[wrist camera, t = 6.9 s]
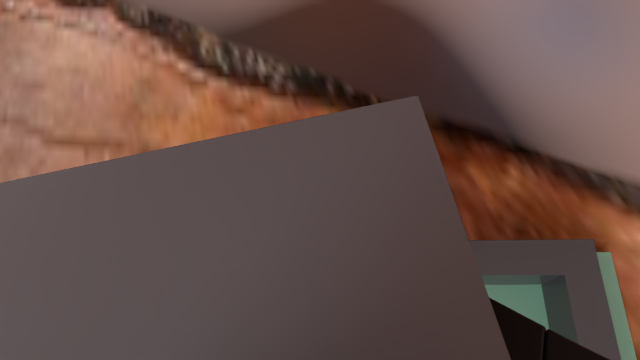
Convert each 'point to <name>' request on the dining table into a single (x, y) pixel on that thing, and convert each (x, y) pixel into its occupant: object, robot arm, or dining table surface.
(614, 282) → the circuit board
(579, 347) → the robot arm
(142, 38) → the dining table surface
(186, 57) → the dining table surface
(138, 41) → the dining table surface
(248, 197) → the two-tone square block
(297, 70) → the dining table surface
